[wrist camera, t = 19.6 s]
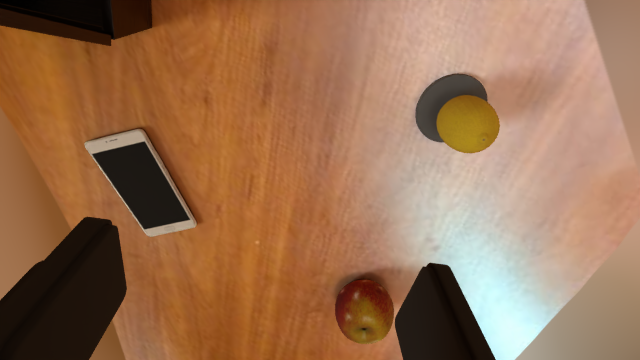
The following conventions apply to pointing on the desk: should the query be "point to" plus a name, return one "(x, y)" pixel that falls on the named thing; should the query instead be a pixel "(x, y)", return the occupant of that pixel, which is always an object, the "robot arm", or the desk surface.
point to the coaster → (444, 100)
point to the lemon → (468, 124)
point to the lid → (51, 27)
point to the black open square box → (90, 14)
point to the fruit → (364, 311)
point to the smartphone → (142, 182)
